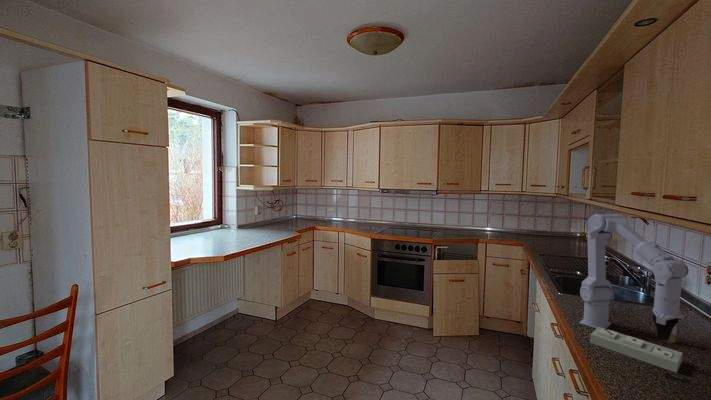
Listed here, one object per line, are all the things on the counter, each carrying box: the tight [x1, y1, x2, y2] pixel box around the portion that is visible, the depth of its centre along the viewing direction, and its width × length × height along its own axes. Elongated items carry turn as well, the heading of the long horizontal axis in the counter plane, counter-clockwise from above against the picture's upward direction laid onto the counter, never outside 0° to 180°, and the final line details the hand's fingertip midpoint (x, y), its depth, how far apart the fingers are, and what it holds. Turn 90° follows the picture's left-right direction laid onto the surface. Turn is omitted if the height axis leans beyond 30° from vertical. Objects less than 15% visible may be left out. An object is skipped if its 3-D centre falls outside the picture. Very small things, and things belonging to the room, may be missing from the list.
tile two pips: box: [652, 347, 673, 358], centre depth 103 cm, size 4×4×2 cm
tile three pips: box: [599, 328, 619, 340], centre depth 114 cm, size 4×4×2 cm
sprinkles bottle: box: [661, 323, 678, 344], centre depth 116 cm, size 5×5×14 cm
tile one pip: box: [624, 335, 645, 349], centre depth 109 cm, size 4×4×2 cm
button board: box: [589, 327, 684, 374], centre depth 109 cm, size 9×22×3 cm, turn 38°
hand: (663, 339), depth 103 cm, fingers closed
